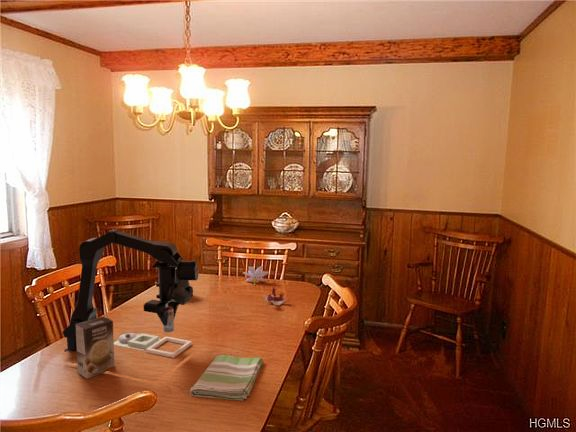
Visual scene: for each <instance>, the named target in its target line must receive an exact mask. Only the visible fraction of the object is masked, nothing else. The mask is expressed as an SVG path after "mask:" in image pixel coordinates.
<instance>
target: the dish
mask: <svg viewBox="0 0 576 432" xmlns="http://www.w3.org/2000/svg"><path fill="white" fill-rule="evenodd" d="M160 339H161V340H160V341H158V342H156V343H155V344H153V345H152V346H150V347H148V348H147V349H146V350H145V353H149V354H152V355H157V356H163V357H166V358H167V357H168V358H173V359H174V358H175V357H176V356H178V355H179V354H180V353H183V352H184V351H185V350H187V349H188V348H189V347H190V346H191V345H193V342H192V340H187V339H182V338H176V337H171V336H164V337H163V338H160ZM166 342H169V343H176V344H181V345H182V346H180V347H179V348H177V349H176V350H175V351H173V352H171V351H166V350H161V349H157V348H158V347H160V346H161V345H162V344H164V343H166Z"/></svg>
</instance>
